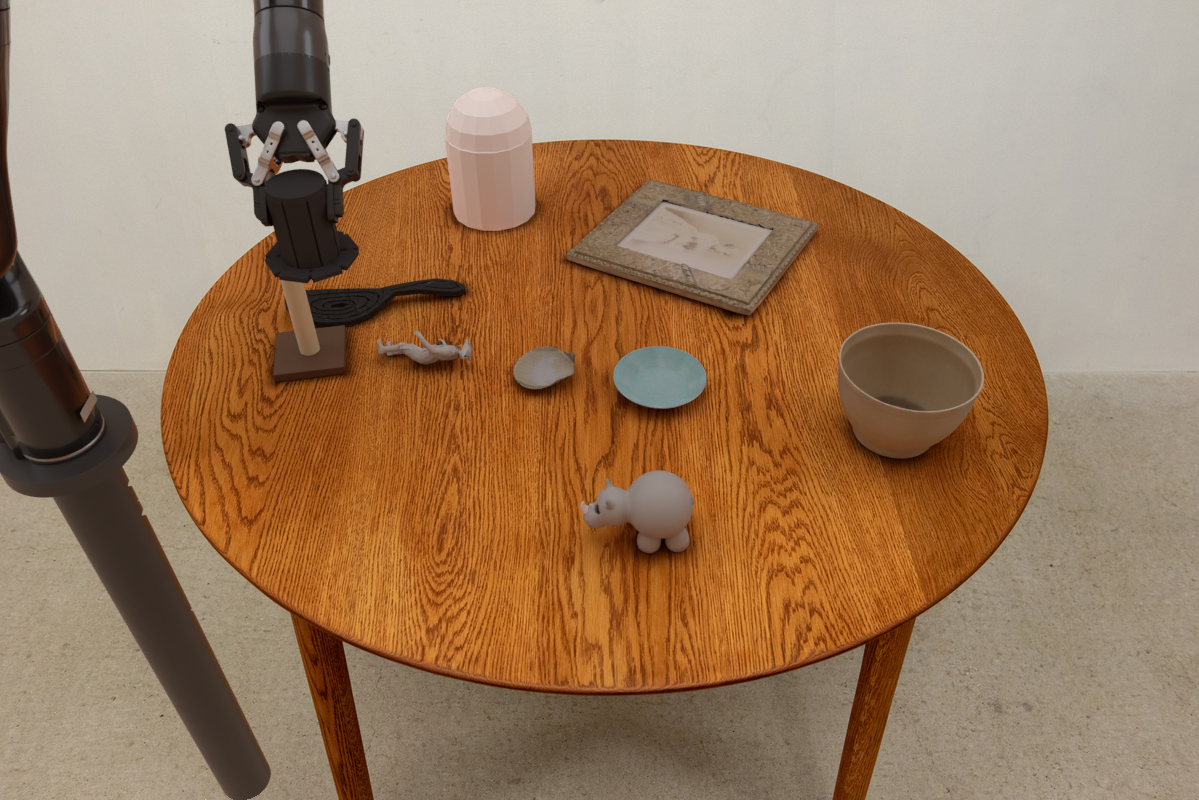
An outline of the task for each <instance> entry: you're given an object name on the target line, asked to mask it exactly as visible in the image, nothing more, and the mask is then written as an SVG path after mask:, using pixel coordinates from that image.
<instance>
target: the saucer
mask: <svg viewBox="0 0 1199 800" xmlns="http://www.w3.org/2000/svg"><path fill="white" fill-rule="evenodd" d="M612 378H613V383H614V386H615V387H616V389H617V391H619V393H620V394H621V395H622V397H625V398H626V399H627V400H629V401H631V402H632V403H635V404H636V405H639V406H641V407H645V408H649V409H654V410H655V409H656V410H667V409H673V408H678V407H681V406H684V405H687V404H689V403H690V402H692V401H694V400H695V399H697V398H698V397H700V395H701V394H702V392H703V391H704V390H705V387H706V385H707V372H706V370H705V368H704V366H703V364H702V363H701V362H700V361H699V360H698V359H697V358H696V357H695V356H693V355H692V354H691V353H689V352H687V351H685V350H682V349H680V348H676V347H671V346H663V345H656V346H655V345H654V346H653V345H652V346H645V347H641V348H637V349H634V350H632V351H630V352H628V353H627V354H625V355H624V356H622V357H621V358H620V359H619V360H618V362H617V363H616V364H615V366H614V369H613V374H612Z"/></svg>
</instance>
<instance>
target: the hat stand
mask: <svg viewBox="0 0 1199 800" xmlns="http://www.w3.org/2000/svg"><path fill="white" fill-rule="evenodd" d="M279 280H280V279H279ZM280 284H281V287H282V292H283V295H284V296H285V299H286V302H287V306H288V310H289V311H288V310H287V311H288V313H289V316H290V320H291V324H292V329H293V330H289V331H283V332H282V331H279V332H277V333H276V341H275V351H274V361H273V371H272V376H273V379H274V382H275V383H277V382H285V381H295V380H302V379H304V380H305V379H312V378H319V377H329V376H335V375H336V376H337V375H345V374H347V329H346V326H345V325H342V326H333V327H317V328H316V327H315V326H316V325H314V322H313V318H312V314H311V310H310V306H309V303H308V299H307V295H306V291H305V290H306V286H305V283H299V282H292V281H284V280H280Z"/></svg>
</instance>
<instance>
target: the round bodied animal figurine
mask: <svg viewBox="0 0 1199 800" xmlns="http://www.w3.org/2000/svg"><path fill="white" fill-rule="evenodd" d="M604 483H605V487H604V488H603V489H602V490H600V491H598V494H597V497H596V500H595V501H593V502H591V503H589V504H588V505H587V504H586V501H585V500H582V502H581V503H580V510H581V512H582V515H583V520H584V522H585V524H586V525H587V526H588V527H589V528H591V529H595V530H597V529H602V528H604V527H606V526H609V527H620V526H622V525H624V524H626V523H627V524H630V525H631V526H632V527H633V528H634V529H635V530H636V531H637V532H638V533H637V537H636V545H637V548H638V549H639V550H640V551H641V552H643V553H646V554H654V553H655V552H657V551H658V550H659V549H660V547H661V544H662V540H663V539H664V543H665V546H666V548H667V549H669V550H670V551H671V552H674V553H682V552H684V551H685V550H686V549H687V548H688V547H689V546H690V535H689V532H688V529H687V528H686V527H687V525H688V524H689V522H690V520H691V518H692V516H693V511H694V505H695V502H696V501H695V498H694V497H693V494H692V491H691V489H690V487H689V486H688V484H687V483H686V481H685V480H684V479H682V478H681V477H680V476H679V475H678V474H675V473H674V472H671V471H668V470H663V469H662V470H661V469H659V470H658V469H657V470H650V471H647V472H645V473H643V474H641V475H640V476H638V477H636V479H635V480H634V481H633V482H632V483H631V485H630V486H629V487H628V489H625V488H621V487H619V486H614V485H613V484H612V481H611V480H610V479H609V478H608V477H607V478H605V480H604Z"/></svg>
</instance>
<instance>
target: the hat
mask: <svg viewBox="0 0 1199 800" xmlns="http://www.w3.org/2000/svg"><path fill="white" fill-rule="evenodd" d="M326 184H328V180H326V178H325V176H324V175H323V174H322V173H321V172H319V171H316V170H314V169H307V168H296V169H295V168H294V169H289V170H284V171H282V172H278V173H277V174H276V175H275V176H273V177H271V178H270V179H269V180H268V181H267V182H266V184H265V191H266V193H265V197H266V201H267V205H268V209H269V212H270V216H271V220H272V223H273V226H272V227H273V230H274V231H273V232H274V234H275V238H276V242H275V243H274V244H273V245H272V247H271V248H270V249H269V250H268V252H267V253H266V254H265V255H264V257H265V258H264V262H265V265H266V266H267V268H268V269H269V270H270V272H271V273H272V275H273V277H274V278H278V280H284V281H292V282H299V283H304V284H309V283H310V281H312V282H313V283H318V282H321V281H324V280H328V279H330V278H333V277H337V276H339V275H343V271H348V270H349V269H351V266H352V265H353V264H354V262H355V261H356V259H357V258H358V256H360V247H359V246H358V244H357V243H356V242H355V241H354V240H353V238H352V237H351V236H350V235H349V233H344V231H343V230H338V228H337V227H338V226H337V223H334V224H331V223H330V222H329V221H328V217H327V200H326V197H327V193H326Z"/></svg>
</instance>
